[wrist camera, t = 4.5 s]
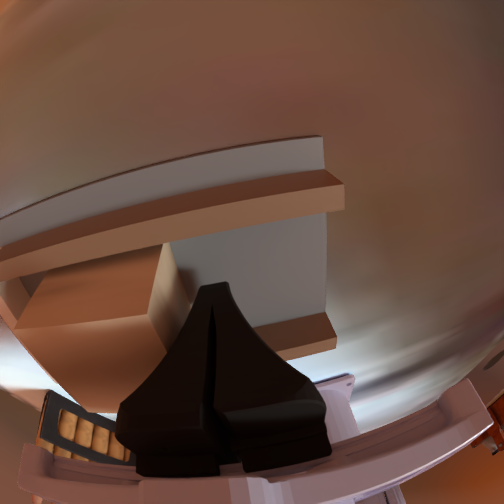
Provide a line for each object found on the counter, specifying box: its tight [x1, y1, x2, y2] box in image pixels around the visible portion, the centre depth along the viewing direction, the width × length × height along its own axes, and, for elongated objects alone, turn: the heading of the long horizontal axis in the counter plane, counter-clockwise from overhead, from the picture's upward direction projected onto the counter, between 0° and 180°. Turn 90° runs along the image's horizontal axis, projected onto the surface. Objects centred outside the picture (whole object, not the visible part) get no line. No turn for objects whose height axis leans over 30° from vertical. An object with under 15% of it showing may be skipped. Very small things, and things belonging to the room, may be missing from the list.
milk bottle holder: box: [470, 394, 504, 455], centre depth 59 cm, size 21×35×19 cm, turn 57°
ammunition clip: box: [31, 390, 136, 504], centre depth 16 cm, size 11×2×12 cm, turn 42°
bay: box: [0, 135, 344, 383], centre depth 13 cm, size 12×18×2 cm, turn 98°
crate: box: [13, 242, 191, 413], centre depth 11 cm, size 6×6×5 cm
